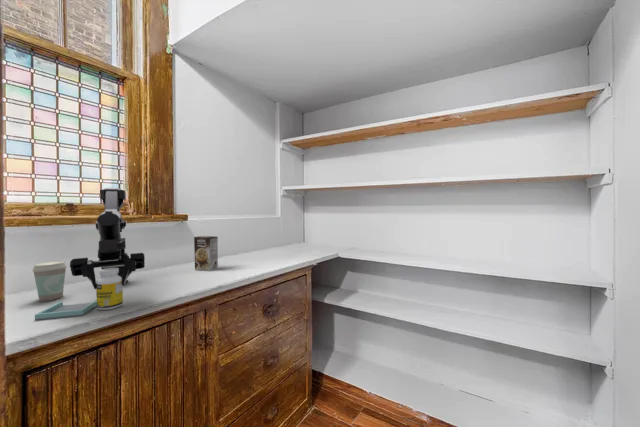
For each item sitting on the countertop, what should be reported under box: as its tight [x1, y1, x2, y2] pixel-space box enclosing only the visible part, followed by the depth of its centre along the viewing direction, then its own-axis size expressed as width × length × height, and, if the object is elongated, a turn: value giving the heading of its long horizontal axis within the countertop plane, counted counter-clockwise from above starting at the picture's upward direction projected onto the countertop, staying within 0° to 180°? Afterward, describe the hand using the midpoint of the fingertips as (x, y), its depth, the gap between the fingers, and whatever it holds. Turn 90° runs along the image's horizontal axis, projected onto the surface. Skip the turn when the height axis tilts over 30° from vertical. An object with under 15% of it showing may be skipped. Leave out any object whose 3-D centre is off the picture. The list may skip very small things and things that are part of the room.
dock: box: [34, 299, 97, 321], centre depth 84 cm, size 11×11×2 cm
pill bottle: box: [95, 268, 124, 311], centre depth 86 cm, size 6×6×12 cm
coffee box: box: [193, 235, 219, 272], centre depth 138 cm, size 9×6×16 cm
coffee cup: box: [32, 260, 68, 302], centre depth 96 cm, size 9×8×12 cm
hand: (109, 286), depth 85 cm, fingers closed on pill bottle, 6 cm apart
